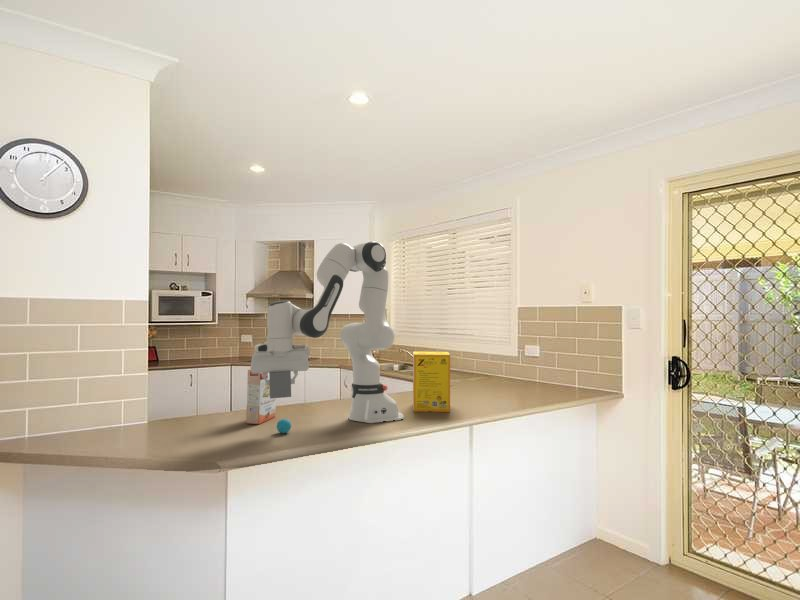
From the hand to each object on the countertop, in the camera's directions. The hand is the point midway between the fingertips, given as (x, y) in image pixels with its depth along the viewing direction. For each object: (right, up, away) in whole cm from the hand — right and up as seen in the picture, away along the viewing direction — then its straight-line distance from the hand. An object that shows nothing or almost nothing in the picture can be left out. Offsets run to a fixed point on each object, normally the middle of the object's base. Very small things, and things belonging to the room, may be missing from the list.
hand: (280, 384), depth 168 cm
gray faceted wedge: (0, -4, 0) cm, 4 cm away
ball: (+1, -15, -1) cm, 15 cm away
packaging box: (+57, -19, +46) cm, 76 cm away
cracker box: (-12, -18, +19) cm, 29 cm away
